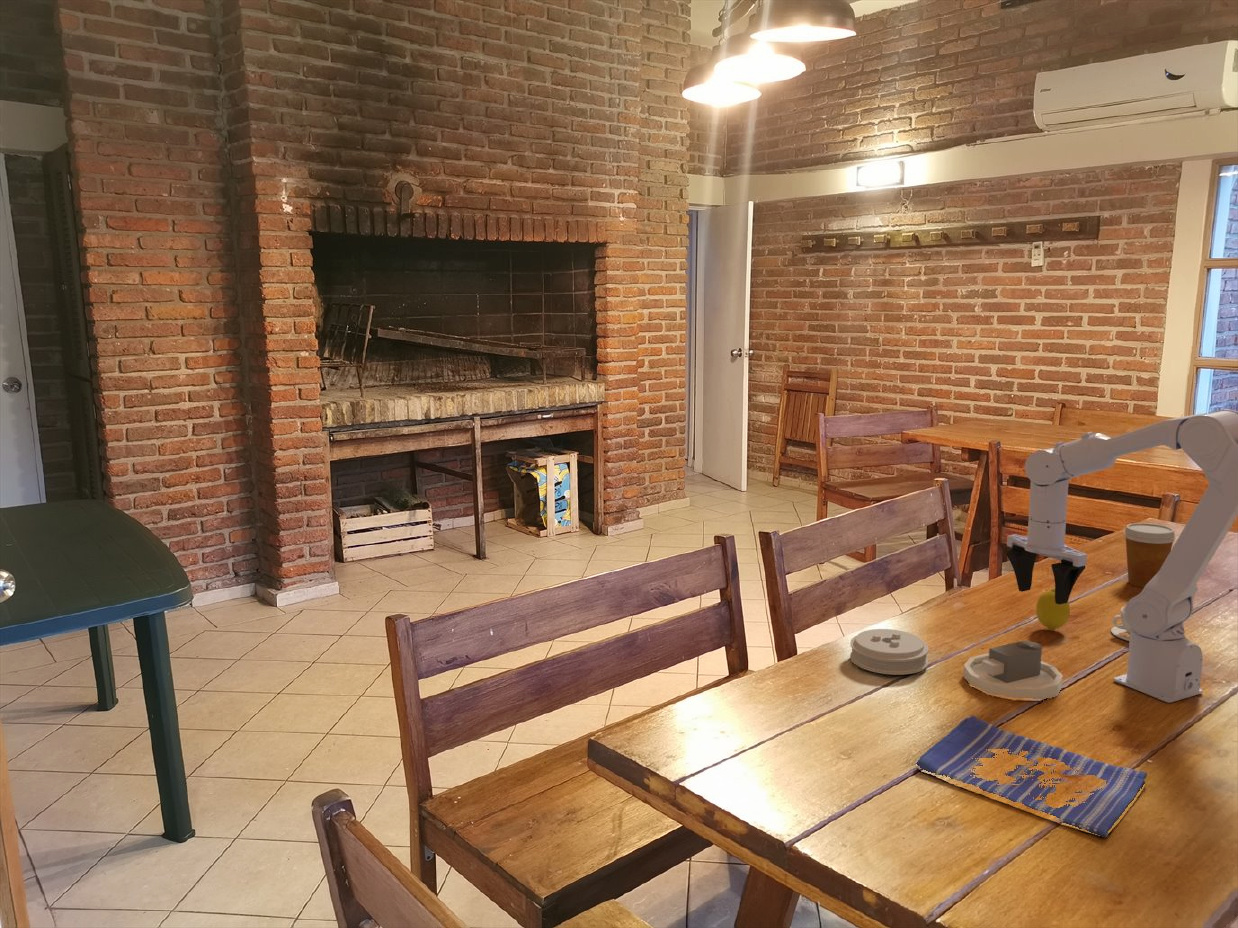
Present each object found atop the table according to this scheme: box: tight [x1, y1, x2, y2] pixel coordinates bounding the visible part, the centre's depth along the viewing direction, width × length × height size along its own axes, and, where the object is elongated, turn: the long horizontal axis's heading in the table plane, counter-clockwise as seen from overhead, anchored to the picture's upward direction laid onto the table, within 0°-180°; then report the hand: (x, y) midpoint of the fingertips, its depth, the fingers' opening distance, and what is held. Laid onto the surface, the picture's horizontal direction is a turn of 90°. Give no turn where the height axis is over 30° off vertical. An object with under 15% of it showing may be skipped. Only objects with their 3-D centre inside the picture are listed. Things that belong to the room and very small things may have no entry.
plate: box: [963, 652, 1064, 699], centre depth 146 cm, size 14×14×2 cm
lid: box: [849, 628, 930, 676], centre depth 154 cm, size 13×13×5 cm
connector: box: [981, 640, 1043, 683], centre depth 145 cm, size 4×10×4 cm, turn 114°
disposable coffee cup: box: [1122, 522, 1177, 588], centre depth 191 cm, size 10×10×12 cm
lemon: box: [1035, 588, 1071, 632], centre depth 167 cm, size 6×6×8 cm
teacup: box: [1110, 605, 1131, 642], centre depth 164 cm, size 10×10×5 cm
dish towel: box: [915, 715, 1148, 838], centre depth 118 cm, size 17×24×3 cm
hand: (1042, 596), depth 156 cm, fingers open, 7 cm apart
